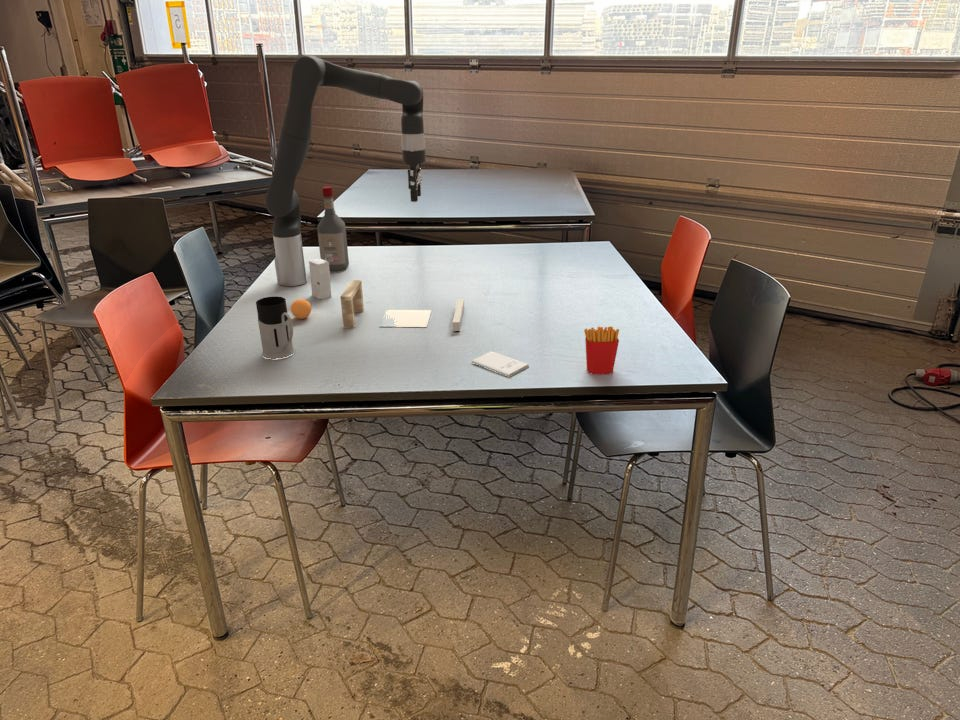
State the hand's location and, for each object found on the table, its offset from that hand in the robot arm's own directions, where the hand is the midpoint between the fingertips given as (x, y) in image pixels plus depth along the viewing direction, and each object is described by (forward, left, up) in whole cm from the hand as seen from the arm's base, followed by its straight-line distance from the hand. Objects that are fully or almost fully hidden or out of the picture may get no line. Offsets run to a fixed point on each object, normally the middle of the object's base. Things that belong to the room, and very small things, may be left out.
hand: (416, 198), depth 220 cm
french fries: (+54, -69, -30) cm, 93 cm away
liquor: (-34, +17, -30) cm, 48 cm away
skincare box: (-31, -14, -30) cm, 45 cm away
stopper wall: (+16, -34, -29) cm, 48 cm away
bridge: (-16, -34, -29) cm, 48 cm away
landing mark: (0, -34, -29) cm, 45 cm away
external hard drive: (+29, -66, -30) cm, 78 cm away
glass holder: (-29, -62, -30) cm, 75 cm away
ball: (-32, -34, -26) cm, 54 cm away
